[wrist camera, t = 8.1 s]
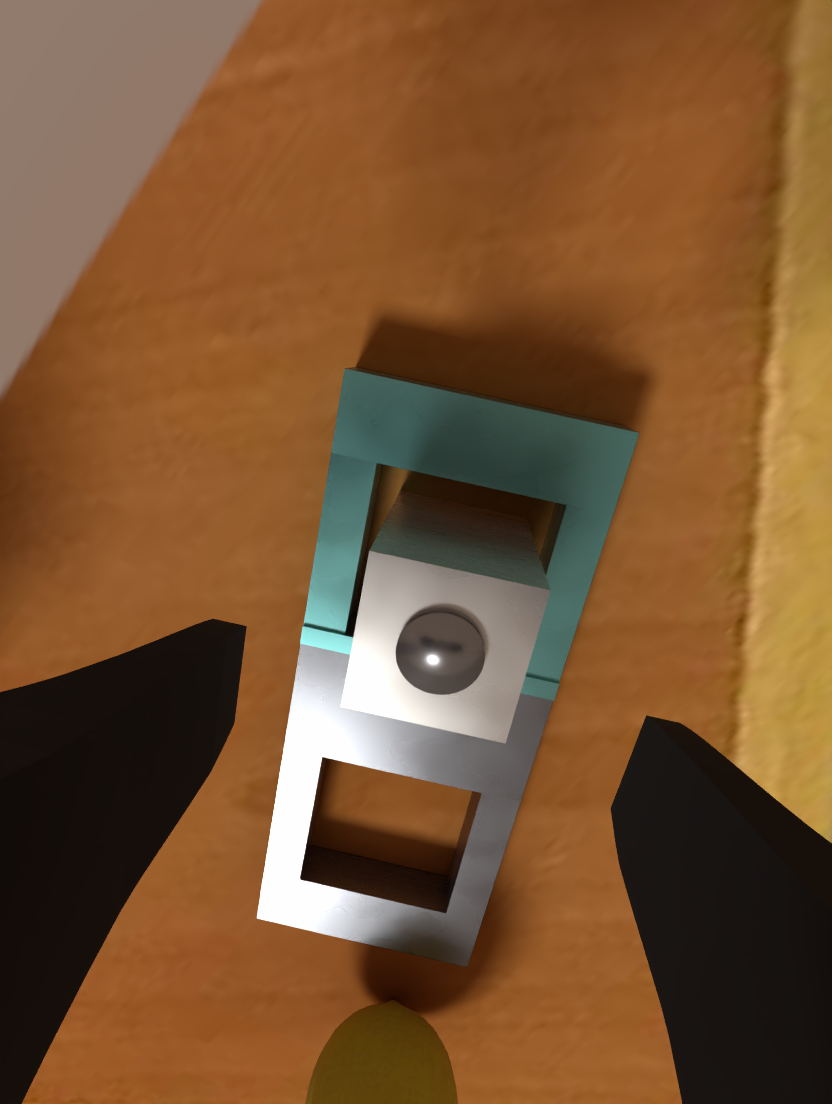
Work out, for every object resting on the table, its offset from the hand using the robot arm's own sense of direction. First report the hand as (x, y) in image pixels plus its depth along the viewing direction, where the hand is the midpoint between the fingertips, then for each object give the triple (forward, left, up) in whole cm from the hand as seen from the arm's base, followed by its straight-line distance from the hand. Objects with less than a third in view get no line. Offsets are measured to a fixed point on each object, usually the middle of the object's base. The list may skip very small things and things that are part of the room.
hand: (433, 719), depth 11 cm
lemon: (+2, -20, -9) cm, 22 cm away
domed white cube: (0, 0, -9) cm, 9 cm away
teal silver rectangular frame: (0, -5, -9) cm, 10 cm away
